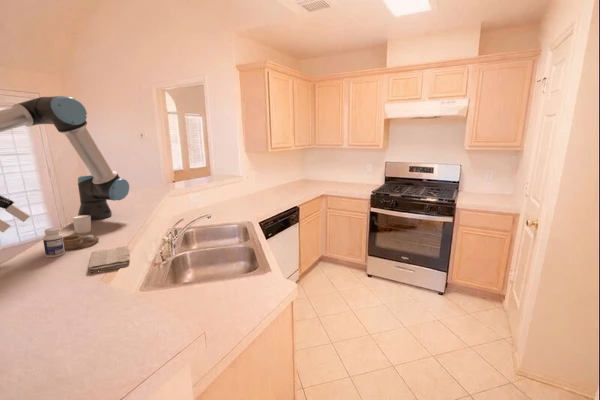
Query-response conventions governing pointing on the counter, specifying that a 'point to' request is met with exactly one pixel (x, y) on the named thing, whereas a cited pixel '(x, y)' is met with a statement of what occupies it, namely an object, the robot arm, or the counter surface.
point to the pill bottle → (53, 243)
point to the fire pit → (79, 241)
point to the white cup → (82, 223)
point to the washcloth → (109, 259)
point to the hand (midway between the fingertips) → (17, 223)
